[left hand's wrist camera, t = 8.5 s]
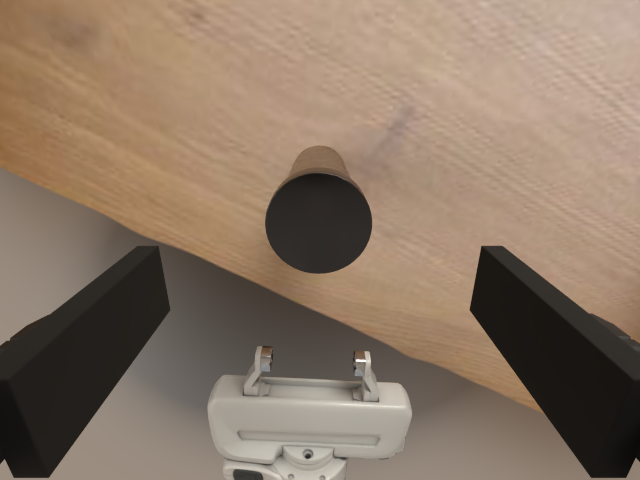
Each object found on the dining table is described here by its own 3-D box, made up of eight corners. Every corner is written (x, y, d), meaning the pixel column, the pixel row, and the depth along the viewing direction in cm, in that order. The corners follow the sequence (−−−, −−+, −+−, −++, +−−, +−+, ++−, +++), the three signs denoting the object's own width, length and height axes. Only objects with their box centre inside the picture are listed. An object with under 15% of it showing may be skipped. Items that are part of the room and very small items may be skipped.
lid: (343, 274, 22) (344, 287, 20) (255, 240, 21) (250, 251, 19) (385, 191, 20) (391, 198, 18) (290, 150, 19) (288, 154, 17)
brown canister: (332, 206, 34) (341, 277, 20) (284, 187, 33) (260, 245, 20) (354, 159, 32) (380, 200, 19) (304, 136, 32) (292, 162, 18)
